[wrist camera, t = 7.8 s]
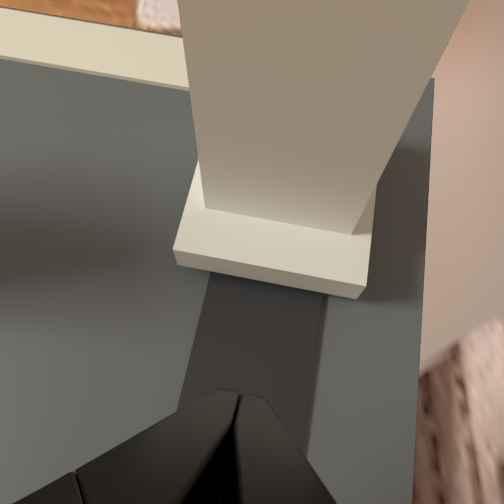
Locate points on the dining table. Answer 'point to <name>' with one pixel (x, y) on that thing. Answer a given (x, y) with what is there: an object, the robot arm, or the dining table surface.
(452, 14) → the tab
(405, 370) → the switch board
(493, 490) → the dining table surface
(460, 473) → the dining table surface
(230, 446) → the robot arm
